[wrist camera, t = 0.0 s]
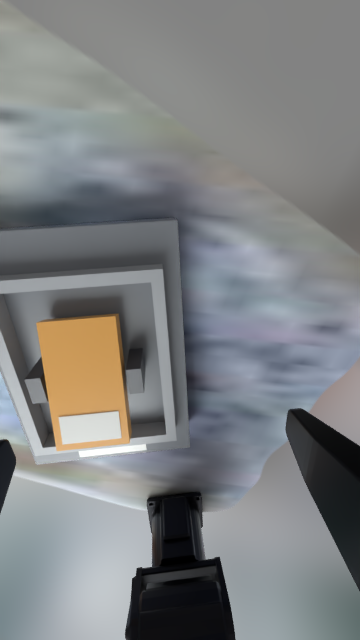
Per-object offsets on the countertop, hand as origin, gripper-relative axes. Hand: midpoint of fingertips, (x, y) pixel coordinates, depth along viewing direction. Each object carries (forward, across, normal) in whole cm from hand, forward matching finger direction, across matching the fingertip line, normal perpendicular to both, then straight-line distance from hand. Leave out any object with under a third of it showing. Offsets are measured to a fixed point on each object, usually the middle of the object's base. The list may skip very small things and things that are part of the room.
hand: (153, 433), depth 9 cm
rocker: (+9, +5, +4) cm, 11 cm away
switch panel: (+15, +5, +4) cm, 16 cm away
